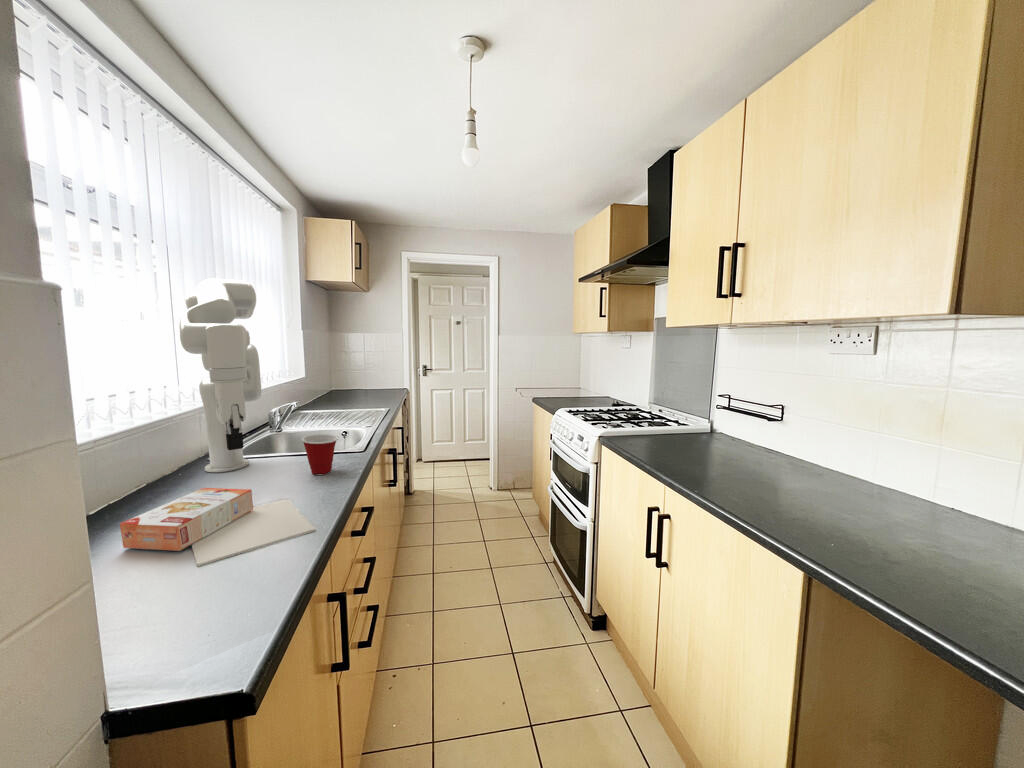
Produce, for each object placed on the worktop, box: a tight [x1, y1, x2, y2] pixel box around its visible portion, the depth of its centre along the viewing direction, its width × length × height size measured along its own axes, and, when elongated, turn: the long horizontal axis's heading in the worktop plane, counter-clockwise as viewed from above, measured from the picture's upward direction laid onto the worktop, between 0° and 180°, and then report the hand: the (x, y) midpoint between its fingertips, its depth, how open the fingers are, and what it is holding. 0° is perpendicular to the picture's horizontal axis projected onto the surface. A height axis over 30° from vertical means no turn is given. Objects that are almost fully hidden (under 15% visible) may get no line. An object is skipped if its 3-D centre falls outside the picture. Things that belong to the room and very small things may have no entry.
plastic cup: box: [301, 433, 339, 475], centre depth 137 cm, size 11×11×12 cm
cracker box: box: [119, 487, 254, 552], centre depth 97 cm, size 14×6×21 cm
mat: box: [190, 498, 316, 567], centre depth 98 cm, size 24×22×1 cm
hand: (235, 448), depth 103 cm, fingers closed
